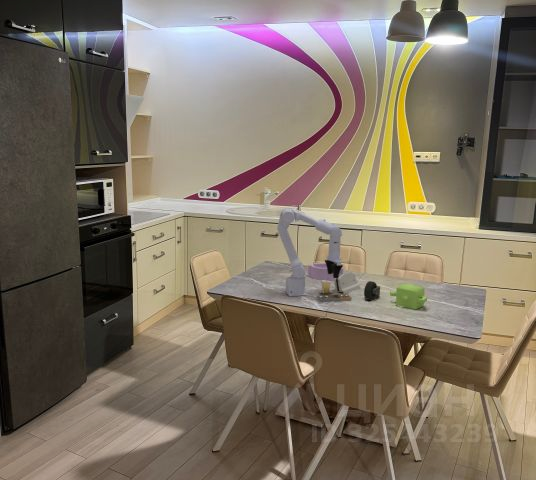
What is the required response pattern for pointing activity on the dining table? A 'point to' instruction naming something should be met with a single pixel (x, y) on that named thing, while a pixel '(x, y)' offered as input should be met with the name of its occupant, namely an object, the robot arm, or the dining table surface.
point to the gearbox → (409, 296)
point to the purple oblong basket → (320, 272)
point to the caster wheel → (371, 290)
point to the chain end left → (327, 298)
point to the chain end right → (343, 297)
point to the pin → (325, 288)
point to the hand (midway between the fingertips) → (332, 275)
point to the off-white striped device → (346, 283)
